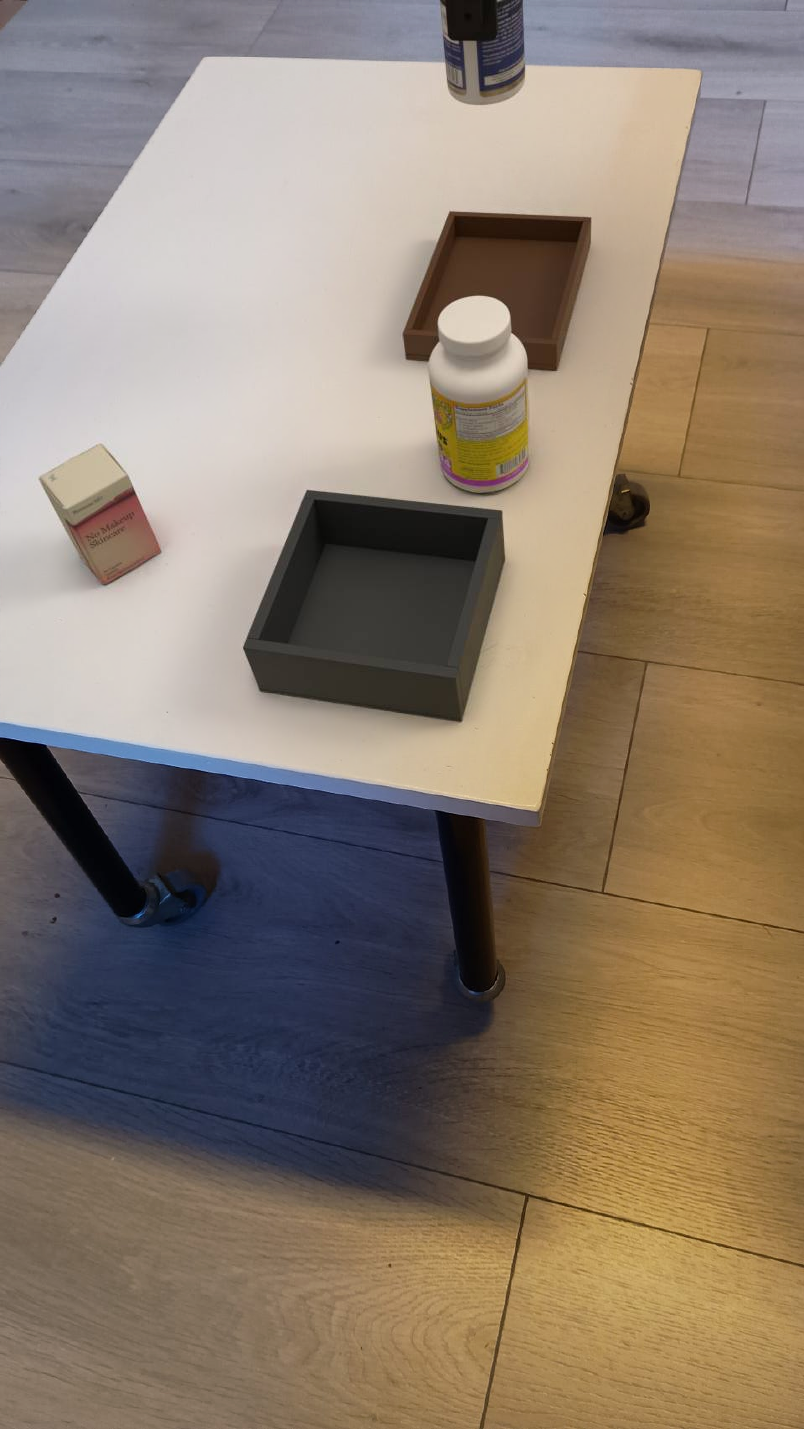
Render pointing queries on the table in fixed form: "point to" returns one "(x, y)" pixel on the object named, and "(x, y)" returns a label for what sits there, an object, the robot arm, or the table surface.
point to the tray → (505, 278)
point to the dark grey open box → (379, 604)
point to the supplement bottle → (480, 396)
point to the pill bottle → (487, 59)
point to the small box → (101, 513)
